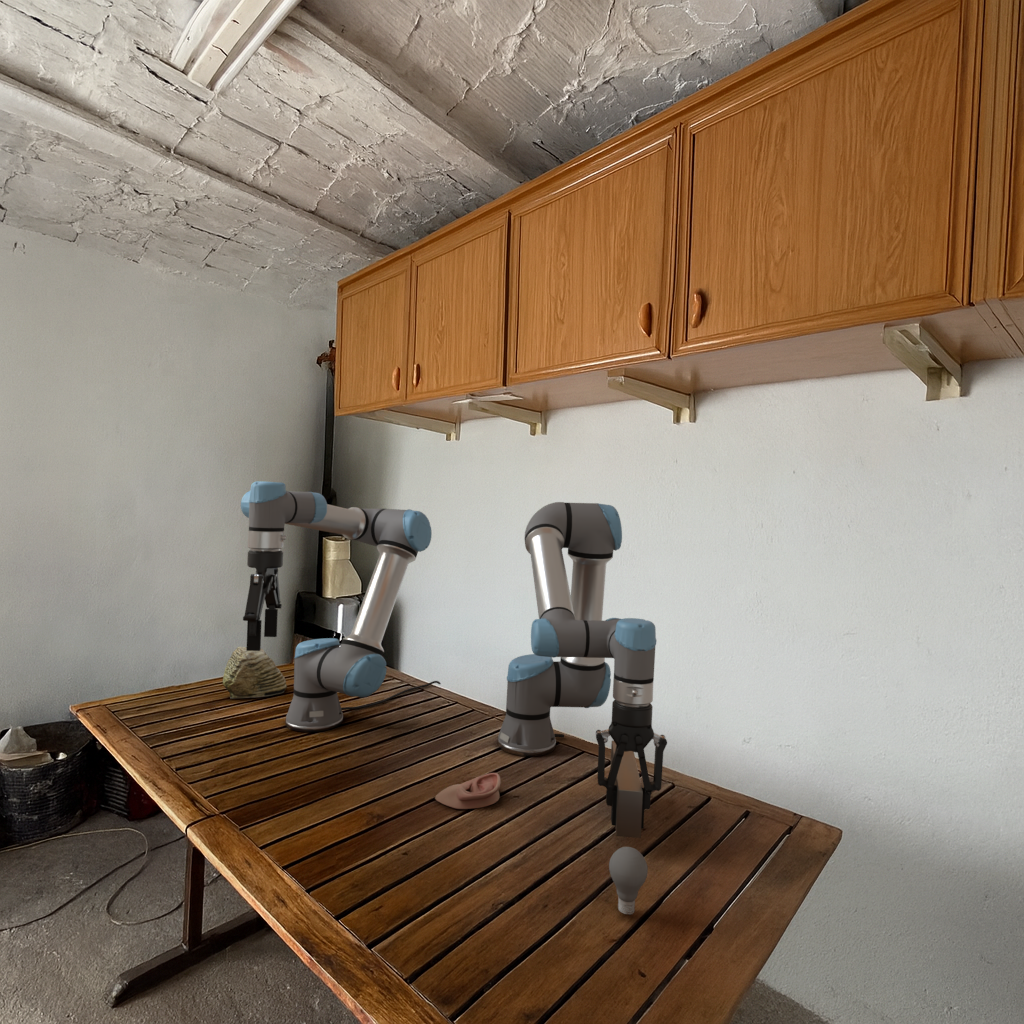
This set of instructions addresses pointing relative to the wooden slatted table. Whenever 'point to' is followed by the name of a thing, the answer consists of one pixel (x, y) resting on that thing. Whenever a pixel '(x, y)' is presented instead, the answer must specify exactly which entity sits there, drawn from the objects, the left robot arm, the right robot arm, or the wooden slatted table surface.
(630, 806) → the bar
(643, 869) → the light bulb
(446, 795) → the anatomical model
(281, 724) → the wooden slatted table surface
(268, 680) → the fossil
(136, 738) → the wooden slatted table surface
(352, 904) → the wooden slatted table surface
